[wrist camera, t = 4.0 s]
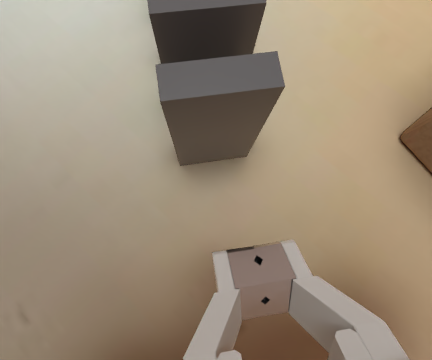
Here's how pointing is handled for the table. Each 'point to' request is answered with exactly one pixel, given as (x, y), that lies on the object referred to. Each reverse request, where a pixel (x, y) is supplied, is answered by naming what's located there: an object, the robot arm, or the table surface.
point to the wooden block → (420, 139)
